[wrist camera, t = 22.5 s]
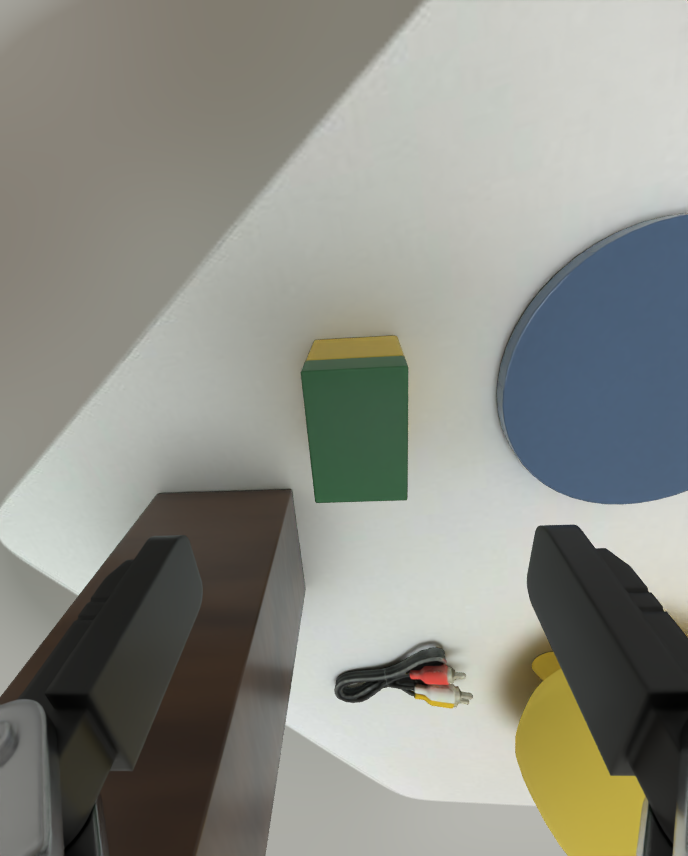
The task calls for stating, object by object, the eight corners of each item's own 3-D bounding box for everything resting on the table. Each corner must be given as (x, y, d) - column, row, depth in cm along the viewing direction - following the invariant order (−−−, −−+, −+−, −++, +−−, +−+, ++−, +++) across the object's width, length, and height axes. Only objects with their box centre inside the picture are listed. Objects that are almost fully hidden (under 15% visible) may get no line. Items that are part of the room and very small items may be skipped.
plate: (514, 224, 17) (523, 223, 16) (869, 201, 16) (899, 199, 15) (484, 497, 23) (489, 508, 22) (742, 490, 22) (758, 501, 21)
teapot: (722, 752, 33) (936, 1060, 21) (529, 781, 36) (617, 1066, 24) (722, 584, 25) (1069, 920, 13) (476, 638, 28) (566, 954, 16)
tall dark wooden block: (157, 492, 24) (-153, 891, 9) (292, 488, 23) (183, 901, 9) (187, 591, 27) (-4, 992, 13) (305, 589, 27) (243, 1003, 12)
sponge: (313, 339, 20) (300, 371, 15) (397, 335, 19) (408, 365, 15) (324, 448, 22) (315, 503, 18) (397, 445, 22) (407, 501, 17)
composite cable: (338, 692, 32) (337, 727, 29) (324, 652, 30) (322, 687, 27) (467, 680, 30) (475, 715, 28) (461, 637, 28) (470, 672, 26)
